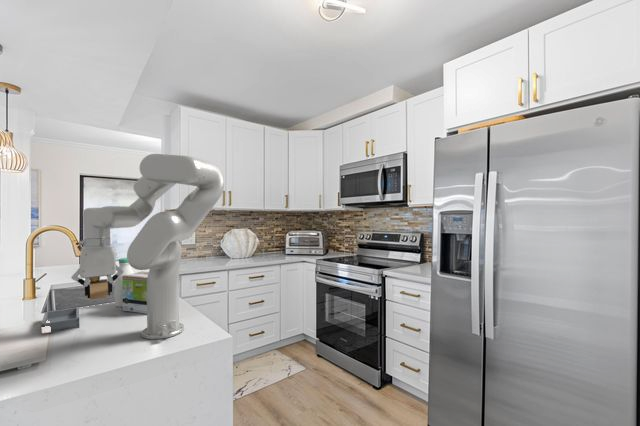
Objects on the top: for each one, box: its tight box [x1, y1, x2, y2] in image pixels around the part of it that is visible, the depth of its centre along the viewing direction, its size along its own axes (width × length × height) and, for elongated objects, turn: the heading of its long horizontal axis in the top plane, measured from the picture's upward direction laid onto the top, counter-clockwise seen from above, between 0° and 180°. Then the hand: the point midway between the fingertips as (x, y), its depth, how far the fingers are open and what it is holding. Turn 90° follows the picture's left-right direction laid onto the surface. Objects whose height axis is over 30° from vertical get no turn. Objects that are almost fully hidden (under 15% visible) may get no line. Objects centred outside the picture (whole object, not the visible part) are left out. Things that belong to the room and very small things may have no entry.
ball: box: [89, 277, 101, 283], centre depth 109 cm, size 3×3×3 cm
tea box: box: [122, 270, 149, 315], centre depth 130 cm, size 15×10×15 cm, turn 73°
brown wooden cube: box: [89, 279, 109, 301], centre depth 109 cm, size 5×5×5 cm
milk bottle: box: [114, 257, 135, 308], centre depth 137 cm, size 8×8×20 cm
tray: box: [40, 306, 80, 334], centre depth 113 cm, size 17×10×3 cm, turn 38°
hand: (98, 295), depth 109 cm, fingers closed on brown wooden cube, 5 cm apart
